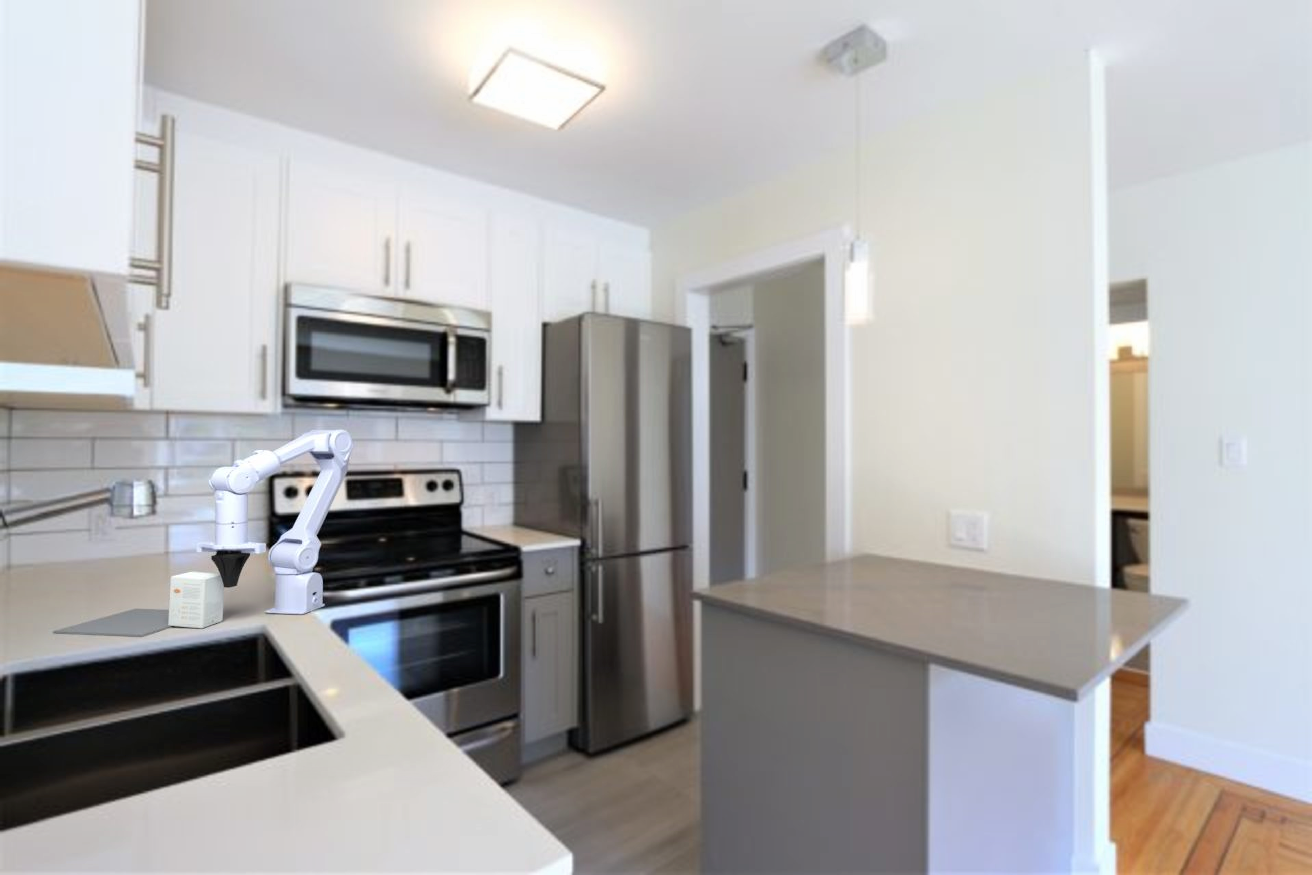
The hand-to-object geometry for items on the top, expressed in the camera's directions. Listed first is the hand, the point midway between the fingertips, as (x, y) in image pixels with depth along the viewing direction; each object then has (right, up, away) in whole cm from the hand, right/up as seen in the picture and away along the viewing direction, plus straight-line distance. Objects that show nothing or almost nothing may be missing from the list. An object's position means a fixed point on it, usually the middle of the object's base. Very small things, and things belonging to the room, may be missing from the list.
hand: (230, 586), depth 133 cm
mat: (-21, -8, +2) cm, 23 cm away
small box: (-8, -8, +1) cm, 12 cm away
